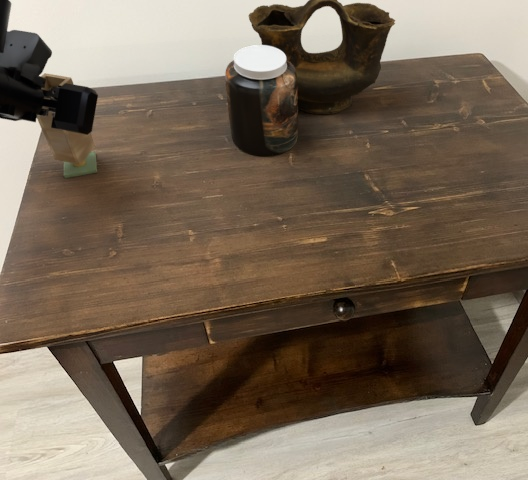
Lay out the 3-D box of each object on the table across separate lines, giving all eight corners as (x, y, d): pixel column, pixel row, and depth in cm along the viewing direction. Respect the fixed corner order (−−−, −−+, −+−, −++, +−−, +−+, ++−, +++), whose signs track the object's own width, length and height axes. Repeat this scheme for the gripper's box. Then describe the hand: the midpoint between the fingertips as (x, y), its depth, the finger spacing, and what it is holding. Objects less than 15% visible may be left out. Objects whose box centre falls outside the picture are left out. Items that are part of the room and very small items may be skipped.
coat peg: (64, 178, 85) (57, 161, 83) (64, 159, 88) (57, 142, 86) (97, 172, 86) (90, 155, 84) (96, 154, 90) (89, 137, 87)
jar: (226, 155, 90) (215, 75, 79) (236, 115, 98) (228, 37, 87) (295, 158, 90) (294, 79, 79) (300, 118, 98) (300, 41, 87)
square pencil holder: (79, 164, 83) (52, 94, 74) (54, 159, 84) (24, 89, 75) (95, 146, 87) (71, 77, 77) (71, 142, 87) (44, 73, 78)
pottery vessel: (257, 121, 97) (249, 14, 82) (253, 89, 104) (245, -15, 90) (390, 113, 100) (405, 8, 85) (377, 82, 107) (390, -20, 92)
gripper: (67, 32, 64) (132, 70, 80) (-66, 11, 67) (21, 52, 82) (51, 123, 65) (119, 144, 80) (-80, 99, 67) (10, 123, 83)
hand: (67, 113), depth 81 cm, fingers closed on square pencil holder, 4 cm apart
